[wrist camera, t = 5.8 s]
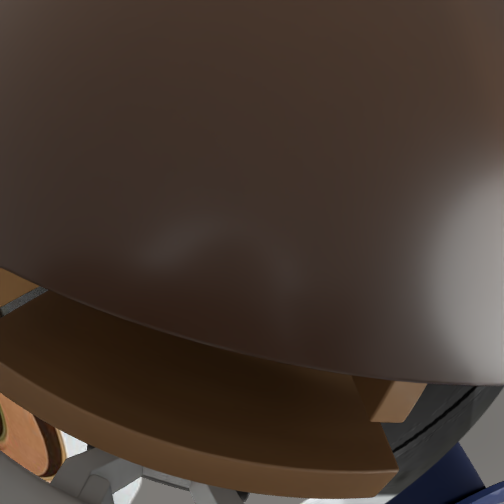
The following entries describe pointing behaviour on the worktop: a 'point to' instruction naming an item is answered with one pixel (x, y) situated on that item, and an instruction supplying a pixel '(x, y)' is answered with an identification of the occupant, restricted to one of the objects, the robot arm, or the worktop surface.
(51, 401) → the drawer
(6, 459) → the robot arm
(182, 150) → the cabinet
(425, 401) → the worktop surface
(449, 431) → the worktop surface
